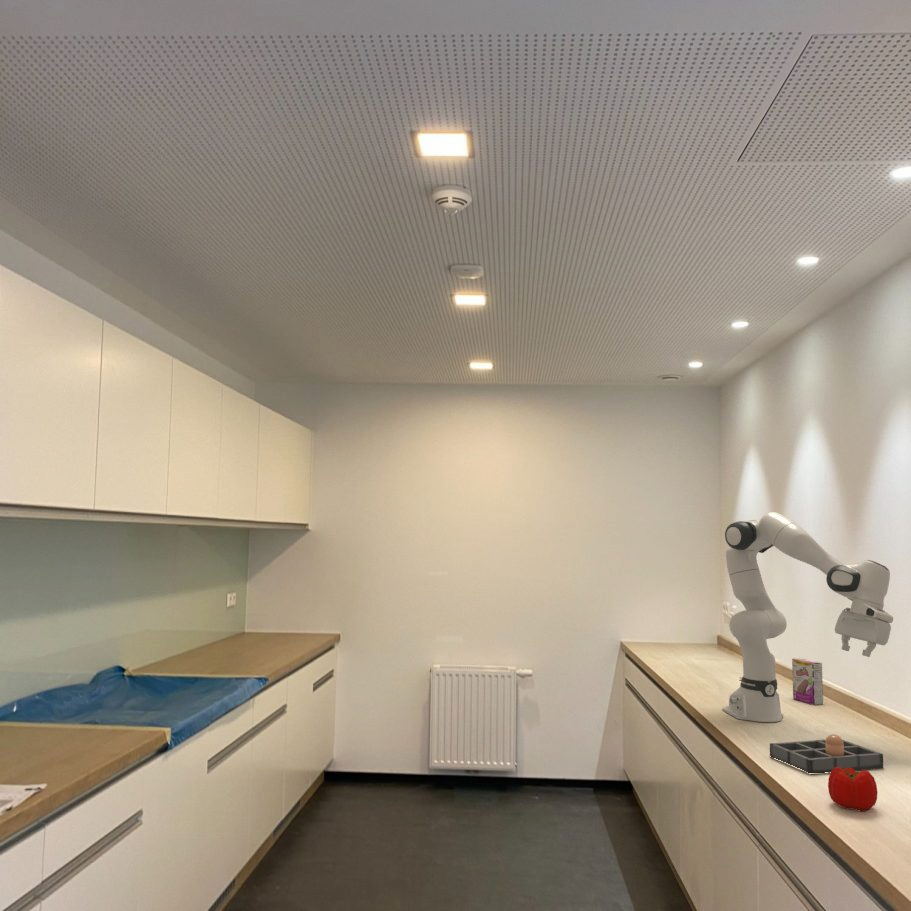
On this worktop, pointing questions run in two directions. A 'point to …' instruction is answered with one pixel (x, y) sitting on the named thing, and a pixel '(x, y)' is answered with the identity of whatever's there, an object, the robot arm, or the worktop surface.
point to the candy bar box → (807, 681)
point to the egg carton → (825, 756)
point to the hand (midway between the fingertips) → (855, 653)
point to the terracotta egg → (834, 745)
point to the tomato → (852, 788)
